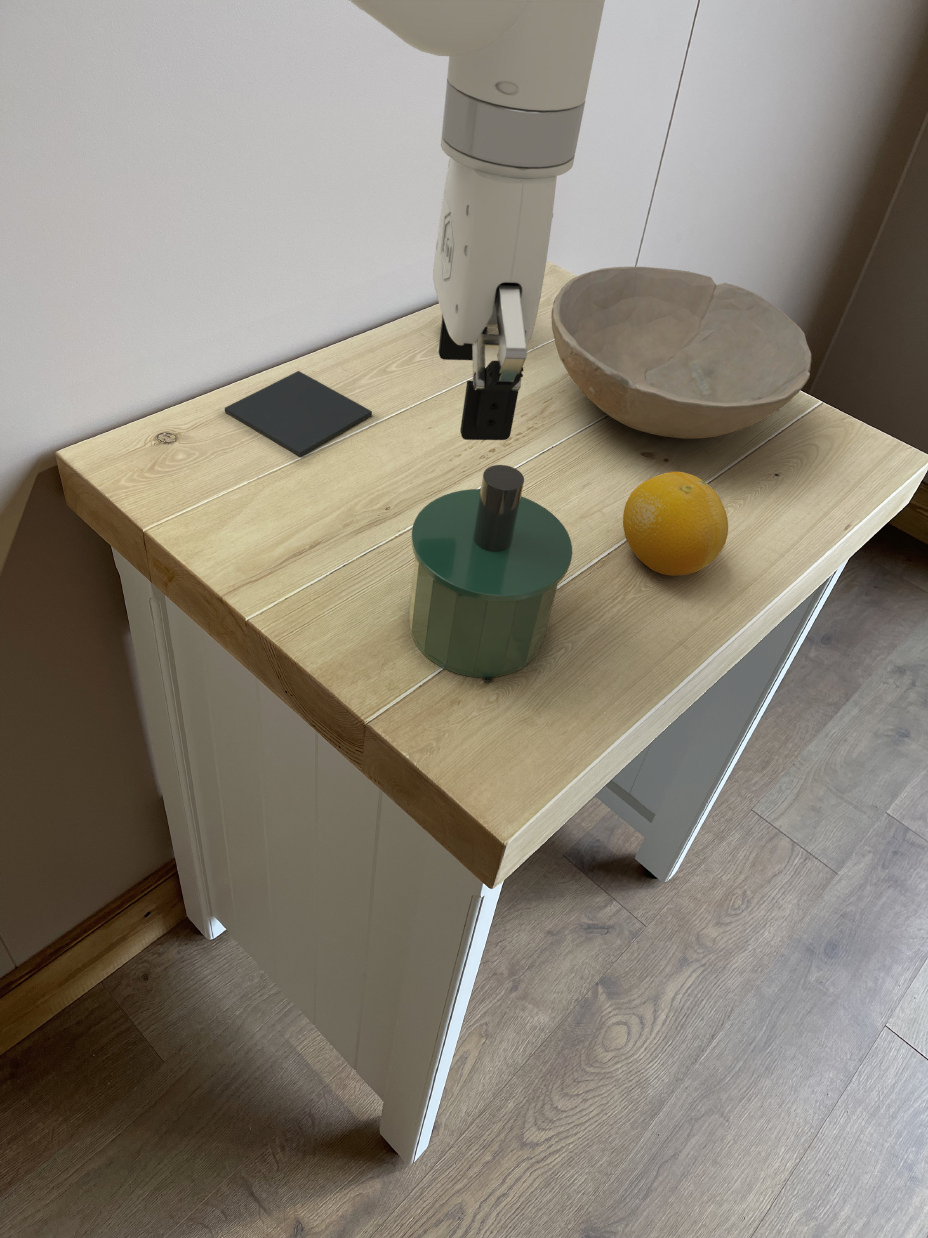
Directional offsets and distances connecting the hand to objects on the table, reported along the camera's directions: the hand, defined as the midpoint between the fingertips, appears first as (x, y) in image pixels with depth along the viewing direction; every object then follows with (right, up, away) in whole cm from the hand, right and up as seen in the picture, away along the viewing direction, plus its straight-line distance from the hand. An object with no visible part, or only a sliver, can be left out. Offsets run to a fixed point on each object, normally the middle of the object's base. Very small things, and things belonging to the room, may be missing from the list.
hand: (471, 395), depth 63 cm
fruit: (+17, -10, +18) cm, 27 cm away
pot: (+1, -16, +10) cm, 19 cm away
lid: (+1, -10, +4) cm, 11 cm away
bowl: (+20, +7, +35) cm, 41 cm away
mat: (-17, +5, +27) cm, 32 cm away
